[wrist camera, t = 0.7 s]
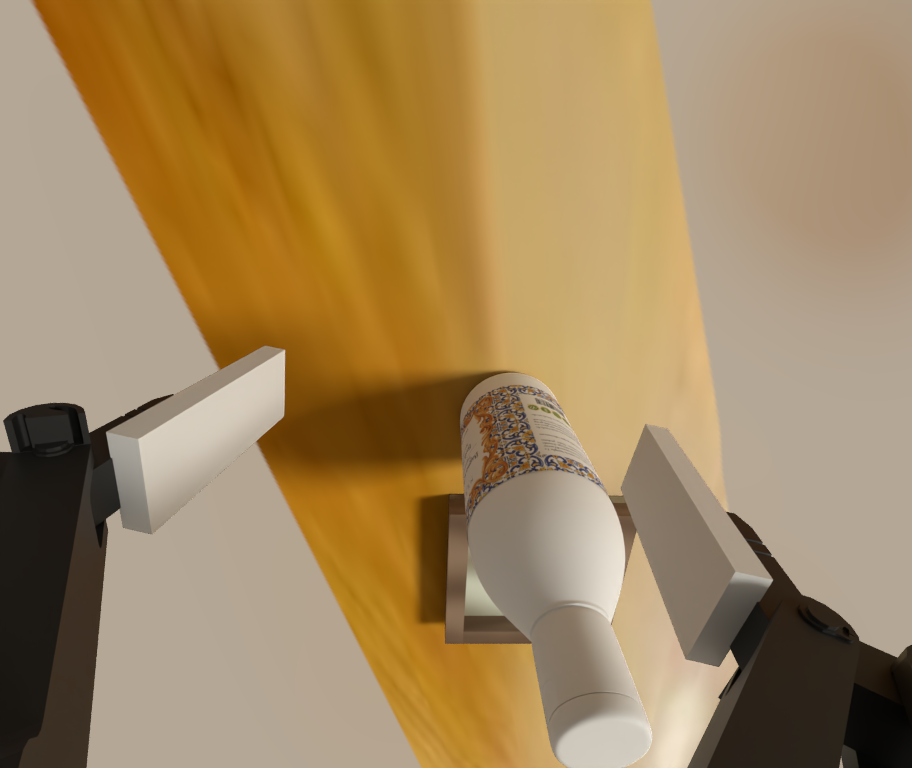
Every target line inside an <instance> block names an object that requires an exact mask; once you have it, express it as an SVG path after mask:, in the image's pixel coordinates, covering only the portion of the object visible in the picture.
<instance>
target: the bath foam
mask: <svg viewBox="0 0 912 768" xmlns="http://www.w3.org/2000/svg"><path fill="white" fill-rule="evenodd" d="M460 429H461V449H462V465H463V480H464V496H465V511H466V527H467V540H468V546H469V550H470V554H471V558H472V562H473V565H474V568H475V571H476V573H477V576H478V578H479V580H480V582H481V584H482V586H483V588H484V590H485V591H486V593H487V595H488V596H489V597H490V599H491V600H492V602H493V603H494V604H495V605H496V607H497V608H498V609H499V610H500V611H501V612H502V613H503V615H504V616H505V617H506V618H507V619H508V620H509V621H510V622H511V623H512V624H513V625H514V626H515V627H516V628H517V629H518V630H520V631H521V632H522V633H523V634H524V635H525V636H526V637H527V638H528V639H529V640H530V641H531V642H532V649H533V655H534V661H535V666H536V672H537V677H538V682H539V687H540V692H541V698H542V703H543V708H544V714H545V719H546V724H547V729H548V734H549V740H550V744H551V747H552V751H553V753H554V755H555V757H556V758H557V759H558V760H559V761H560V762H561V763H562V764H563V765H565V766H566V767H568V768H624V767H626V766H628V765H630V764H632V763H634V762H636V761H637V760H639V759H640V758H641V757H643V756H644V755H645V754H646V752H647V751H648V750H649V748H650V746H651V742H652V730H651V727H650V723H649V720H648V718H647V715H646V713H645V710H644V707H643V705H642V702H641V700H640V697H639V694H638V692H637V689H636V687H635V684H634V681H633V679H632V676H631V674H630V671H629V668H628V666H627V663H626V661H625V658H624V656H623V653H622V650H621V648H620V645H619V643H618V640H617V638H616V635H615V633H614V631H613V628H612V626H611V622H612V619H613V616H614V612H615V609H616V605H617V602H618V598H619V595H620V591H621V587H622V582H623V577H624V569H625V546H624V539H623V533H622V529H621V525H620V522H619V519H618V516H617V513H616V510H615V507H614V505H613V503H612V501H611V499H610V497H609V495H608V493H607V491H606V490H605V488H604V486H603V484H602V482H601V480H600V478H599V477H598V475H597V473H596V471H595V469H594V467H593V466H592V464H591V462H590V460H589V458H588V456H587V454H586V453H585V451H584V449H583V447H582V445H581V443H580V441H579V440H578V438H577V436H576V434H575V432H574V430H573V429H572V427H571V425H570V423H569V421H568V419H567V417H566V416H565V414H564V412H563V410H562V408H561V407H560V405H559V403H558V401H557V400H556V398H555V396H554V394H553V393H552V392H551V390H550V389H549V388H548V387H547V386H546V385H545V384H544V383H543V382H541V381H540V380H538V379H536V378H534V377H532V376H529V375H526V374H522V373H502V374H498V375H495V376H492V377H489V378H487V379H485V380H484V381H482V382H481V383H479V384H478V385H477V386H476V387H475V388H474V389H473V390H472V391H471V392H470V393H469V394H468V396H467V397H466V399H465V401H464V403H463V406H462V409H461V414H460Z"/></svg>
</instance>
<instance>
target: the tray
mask: <svg viewBox="0 0 912 768" xmlns="http://www.w3.org/2000/svg"><path fill="white" fill-rule="evenodd" d="M609 497H610V499H611V501H612V503H613V505H614V507H615V510H616V513H617V516H618V519H619V522H620V525H621V529H622V533H623V539H624V546H625V569H624V576H625V572H626V568H627V564H628V560H629V557H630V553H631V549H632V545H633V542H634V538H635V534H636V527H635V525H634V522H633V519H632V517H631V514H630V512H629V509H628V506H627V504H626V501H625V498H624V496H609ZM623 579H624V577H623ZM622 583H623V582H622ZM616 606H617V605H616ZM615 610H616V609H615ZM614 613H615V612H614ZM613 617H614V616H613ZM612 621H613V619H612ZM611 625H612V622H611ZM445 644H532V642H531V641H530V640H529V639H528V638H527V637H526V636H525V635H524V634H523V633H522V632H521V631H520V630H518V629H517V628H516V627H515V626H514V625H513V624H512V623H511V622H510V621H509V620H508V619H507V618H506V617H505V616H504V615H503V613H502V612H501V611H500V610H499V609H498V608H497V607H496V605H495V604H494V603H493V602H492V600H491V599H490V597H489V596H488V595H487V593H486V591H485V590H484V588H483V586H482V584H481V582H480V580H479V578H478V576H477V573H476V571H475V568H474V565H473V562H472V558H471V554H470V550H469V546H468V540H467V527H466V511H465V496H464V494H449V520H448V549H447V579H446V609H445Z"/></svg>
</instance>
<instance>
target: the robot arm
mask: <svg viewBox="0 0 912 768" xmlns="http://www.w3.org/2000/svg"><path fill="white" fill-rule="evenodd" d="M284 406H285V350H284V349H279V348H274V347H269V346H263V347H262V348H260V349H258V350H256V351H254V352H252V353H251V354H249V355H247V356H245V357H243V358H241V359H240V360H238V361H236V362H234V363H232V364H230V365H228V366H227V367H225V368H223V369H221V370H219V371H217V372H216V373H214V374H212V375H210V376H208V377H206V378H205V379H203V380H201V381H199V382H197V383H195V384H193V385H192V386H190V387H188V388H186V389H184V390H182V391H181V392H179V393H177V394H175V395H174V394H172V395H168V396H164V397H161V398H157V399H154V400H151V401H150V402H148V403H146V404H144V405H142V406H140V407H138V408H137V410H135V409H134V410H132V411H130V412H128V413H127V414H125V416H121V417H119V418H117V419H115V420H113V421H111V422H109V423H107V424H106V425H104V426H102V427H100V428H98V429H96V430H94V431H92V432H90V433H89V431H88V426H87V420H86V415H85V411H84V409H83V408H82V407H80V406H78V405H75V404H69V403H48V404H41V405H35V406H32V407H28V408H25V409H21V410H18V411H16V412H14V413H12V414H10V415H9V416H8V417H7V418H5V419H4V421H3V422H4V425H5V429H6V432H7V436H8V439H9V443H10V446H11V450H12V452H0V768H86V767H87V756H88V744H89V734H90V722H91V711H92V700H93V690H94V679H95V668H96V657H97V646H98V634H99V623H100V611H101V601H102V591H103V580H104V568H105V556H106V545H107V535H108V528H107V523H106V518H108V517H109V516H111V515H112V514H113V513H114V512H116V511H117V510H118V509H120V514H121V519H122V525H123V528H127V529H131V530H135V531H139V532H144V533H148V534H153V533H154V532H155V531H156V530H157V529H159V528H160V527H161V526H162V525H163V524H164V523H165V522H166V521H168V520H169V519H170V518H171V517H172V516H173V515H174V514H175V513H177V512H178V511H179V510H180V509H181V508H182V507H183V506H184V505H185V504H187V503H188V502H189V501H190V500H191V499H192V498H193V497H194V496H195V495H196V494H198V493H199V492H200V491H201V490H202V489H203V488H204V487H206V486H207V485H208V484H209V483H210V482H211V481H212V480H213V479H214V478H216V476H218V475H219V474H220V473H221V472H222V471H223V470H225V469H226V468H227V467H228V466H229V465H230V464H231V463H232V462H234V461H235V460H236V459H237V458H238V457H239V456H240V455H241V454H243V453H244V452H245V451H246V450H247V449H248V448H249V447H250V446H251V445H253V444H254V443H255V442H256V441H257V440H258V439H259V438H260V437H262V436H263V435H264V434H265V433H266V432H267V431H268V430H269V429H270V428H272V427H273V426H274V425H275V424H276V423H277V422H278V421H279V420H281V419H282V418H283V417H284ZM621 491H622V493H623V496H624V498H625V501H626V504H627V506H628V509H629V512H630V514H631V517H632V519H633V522H634V525H635V527H636V530H637V533H638V535H639V538H640V541H641V543H642V546H643V548H644V551H645V554H646V556H647V559H648V562H649V564H650V567H651V569H652V572H653V575H654V577H655V580H656V583H657V585H658V588H659V590H660V593H661V596H662V598H663V601H664V604H665V606H666V609H667V612H668V614H669V617H670V619H671V622H672V625H673V627H674V630H675V633H676V635H677V638H678V640H679V643H680V646H681V648H682V651H683V654H684V656H685V659H687V660H691V661H696V662H700V663H704V664H709V665H713V666H717V667H719V666H720V665H721V663H722V661H723V660H724V658H725V657H726V655H727V653H728V652H729V650H730V649H731V651H732V653H733V655H734V657H735V659H736V661H737V663H738V665H739V667H738V668H737V670H736V671H735V673H734V674H733V676H732V677H731V679H730V680H729V682H728V684H727V685H726V687H725V688H724V690H723V691H722V693H721V694H720V696H719V697H718V698H719V699H721V700H720V702H719V704H718V706H717V708H716V710H715V712H714V715H713V717H712V719H711V721H710V723H709V725H708V727H707V729H706V731H705V733H704V735H703V737H702V739H701V741H700V743H699V745H698V747H697V749H696V751H695V753H694V755H693V757H692V759H691V761H690V764H689V766H688V768H839V765H840V759H841V757H842V763H843V768H912V645H910V646H908V647H907V648H906V649H905V650H904V651H903V652H902V653H901V654H900V656H899V657H898V658H897V657H895V656H892V655H890V654H888V653H885V652H883V651H881V650H878V649H876V648H874V647H872V646H870V645H867V644H865V643H863V642H860V641H859V637H858V635H857V634H856V633H855V631H854V630H853V628H852V627H851V625H850V624H848V623H847V622H846V621H845V620H844V619H843V618H842V617H841V616H840V615H839V614H837V613H836V612H835V611H833V610H832V609H830V608H829V607H827V606H826V605H824V604H822V603H820V602H818V601H816V600H814V599H812V598H810V597H806V596H803V595H801V593H800V592H799V591H798V589H797V588H796V586H795V585H794V584H793V582H792V581H791V580H790V578H789V577H788V576H787V574H786V573H785V572H784V571H783V569H782V568H781V566H780V565H779V564H778V562H777V561H776V560H775V558H774V557H771V553H770V552H769V550H768V549H767V548H766V546H765V545H762V541H761V540H760V538H759V537H758V535H757V534H756V533H755V532H754V530H753V529H752V528H751V527H750V526H749V525H748V524H746V523H745V522H744V521H743V520H742V519H741V518H739V517H738V516H737V515H736V514H734V513H729V512H726V511H725V510H724V509H723V507H722V506H721V504H720V503H719V501H718V500H717V499H716V497H715V496H714V494H713V493H712V491H711V490H710V489H709V487H708V486H707V484H706V483H705V481H704V480H703V479H702V477H701V476H700V474H699V473H698V471H697V470H696V468H695V467H694V466H693V464H692V463H691V461H690V460H689V458H688V457H687V456H686V454H685V453H684V451H683V450H682V448H681V447H680V446H679V444H678V443H677V441H676V440H675V438H674V437H673V436H672V434H671V433H670V431H669V430H668V429H667V428H663V427H658V426H653V425H648V424H645V427H644V429H643V432H642V434H641V437H640V439H639V442H638V445H637V447H636V450H635V452H634V455H633V458H632V460H631V463H630V465H629V468H628V470H627V473H626V476H625V478H624V481H623V483H622V486H621Z"/></svg>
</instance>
